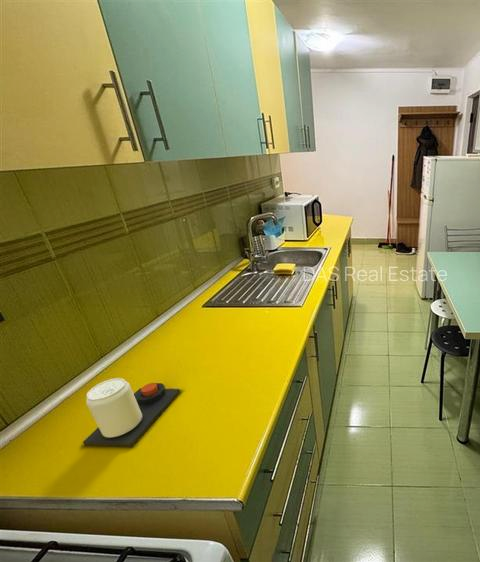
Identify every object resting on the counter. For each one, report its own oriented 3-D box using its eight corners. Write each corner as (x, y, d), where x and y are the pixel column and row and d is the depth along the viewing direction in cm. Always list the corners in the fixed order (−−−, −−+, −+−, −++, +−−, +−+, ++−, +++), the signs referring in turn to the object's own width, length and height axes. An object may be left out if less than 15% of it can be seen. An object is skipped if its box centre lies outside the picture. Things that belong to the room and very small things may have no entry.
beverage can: (134, 408, 81) (119, 372, 77) (149, 421, 77) (133, 384, 73) (97, 429, 75) (78, 392, 70) (110, 445, 71) (91, 406, 66)
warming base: (132, 446, 72) (128, 437, 71) (84, 445, 73) (79, 436, 71) (181, 391, 89) (178, 383, 88) (141, 390, 89) (138, 382, 88)
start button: (152, 396, 83) (150, 392, 83) (139, 396, 83) (137, 391, 83) (161, 387, 87) (159, 382, 86) (149, 387, 87) (147, 382, 86)
